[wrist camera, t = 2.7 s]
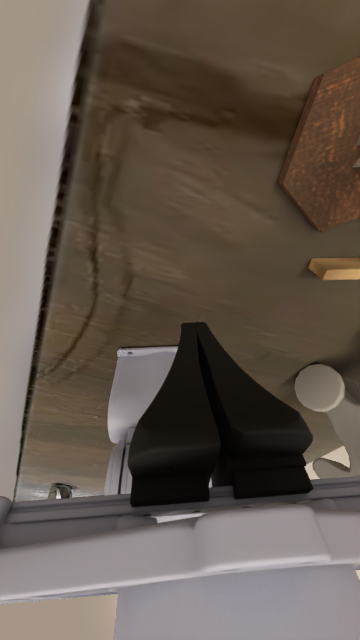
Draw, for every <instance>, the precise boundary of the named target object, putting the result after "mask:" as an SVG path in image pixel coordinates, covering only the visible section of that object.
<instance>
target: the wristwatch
mask: <svg viewBox="0 0 360 640" xmlns="http://www.w3.org/2000/svg"><path fill="white" fill-rule="evenodd" d="M56 488H58V489H59V490H60V495H61V499H62V498H71V497H72V492H71V489H70V487H68V486H66V485H61V486H60V485H56V486H52V487H51V488H50V494H49V495H48V500H49V499H56V495H57V492H56Z"/></svg>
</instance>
